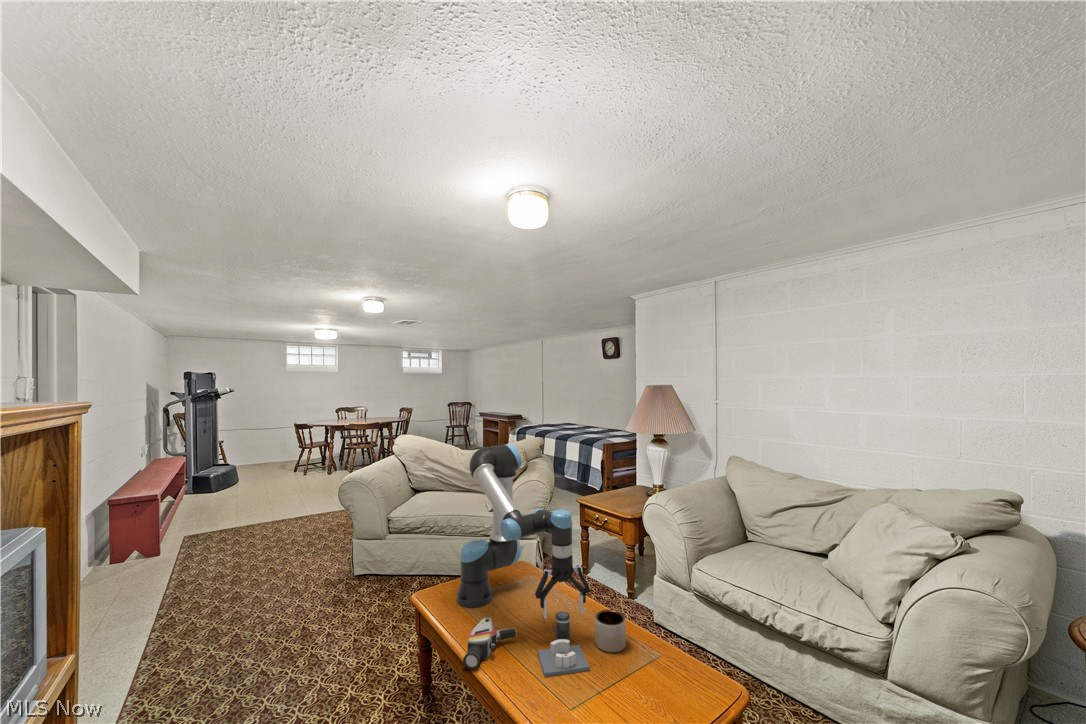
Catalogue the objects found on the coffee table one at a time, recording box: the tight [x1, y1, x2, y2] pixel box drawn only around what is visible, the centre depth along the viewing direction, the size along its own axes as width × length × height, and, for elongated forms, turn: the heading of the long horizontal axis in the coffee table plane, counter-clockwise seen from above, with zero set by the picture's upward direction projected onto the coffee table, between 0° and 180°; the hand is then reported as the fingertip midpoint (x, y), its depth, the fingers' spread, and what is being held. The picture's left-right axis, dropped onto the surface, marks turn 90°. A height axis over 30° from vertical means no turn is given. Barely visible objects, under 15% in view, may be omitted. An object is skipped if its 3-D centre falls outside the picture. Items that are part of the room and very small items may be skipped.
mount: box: [537, 639, 591, 678], centre depth 150 cm, size 12×15×5 cm
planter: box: [594, 609, 627, 654], centre depth 159 cm, size 11×11×10 cm
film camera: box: [462, 617, 518, 671], centre depth 155 cm, size 7×19×15 cm
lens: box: [555, 610, 571, 641], centre depth 162 cm, size 5×5×9 cm
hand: (563, 614), depth 162 cm, fingers open, 13 cm apart
